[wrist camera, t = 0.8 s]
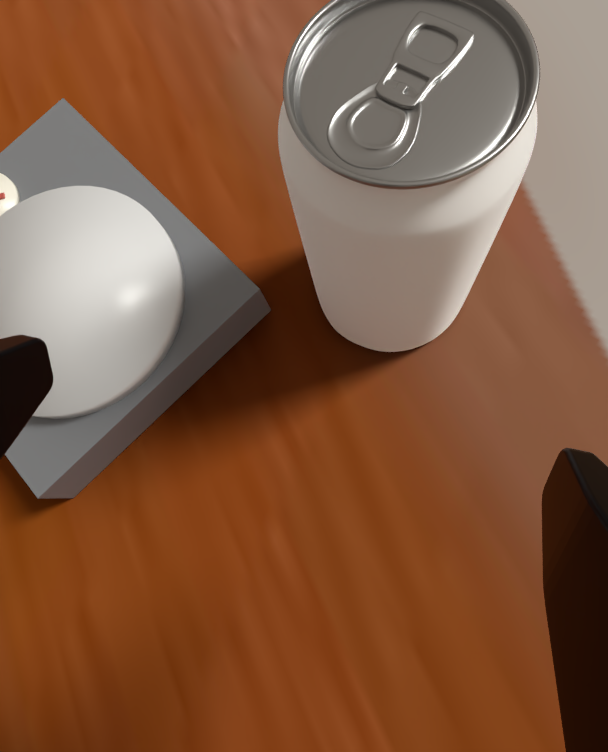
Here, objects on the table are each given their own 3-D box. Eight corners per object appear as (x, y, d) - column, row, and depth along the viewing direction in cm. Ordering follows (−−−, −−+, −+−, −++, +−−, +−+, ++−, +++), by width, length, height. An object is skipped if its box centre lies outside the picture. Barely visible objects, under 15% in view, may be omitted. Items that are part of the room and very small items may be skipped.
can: (289, 307, 23) (208, 124, 12) (367, 195, 24) (363, -81, 13) (414, 383, 22) (461, 258, 10) (493, 261, 23) (618, 17, 11)
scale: (271, 310, 24) (255, 281, 20) (73, 498, 23) (24, 498, 20) (90, 133, 27) (52, 85, 24) (-87, 291, 26) (-151, 263, 23)
